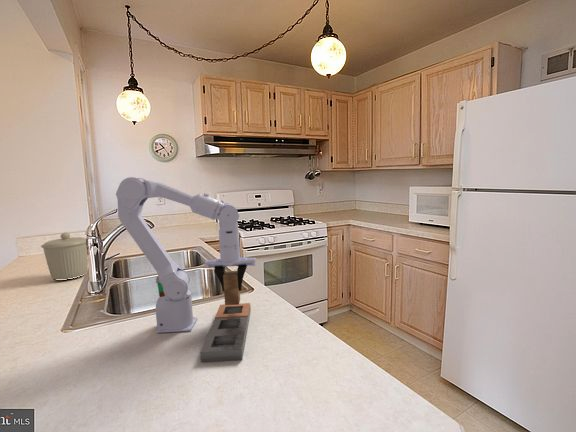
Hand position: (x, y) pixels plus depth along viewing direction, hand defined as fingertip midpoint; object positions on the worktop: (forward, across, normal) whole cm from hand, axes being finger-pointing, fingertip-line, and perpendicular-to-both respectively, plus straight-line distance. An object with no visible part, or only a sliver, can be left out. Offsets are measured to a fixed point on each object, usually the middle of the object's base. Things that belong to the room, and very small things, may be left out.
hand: (232, 290), depth 92 cm
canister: (+9, -82, +54) cm, 99 cm away
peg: (+4, 0, 0) cm, 4 cm away
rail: (+9, 0, -9) cm, 13 cm away
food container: (+9, -23, +19) cm, 31 cm away
